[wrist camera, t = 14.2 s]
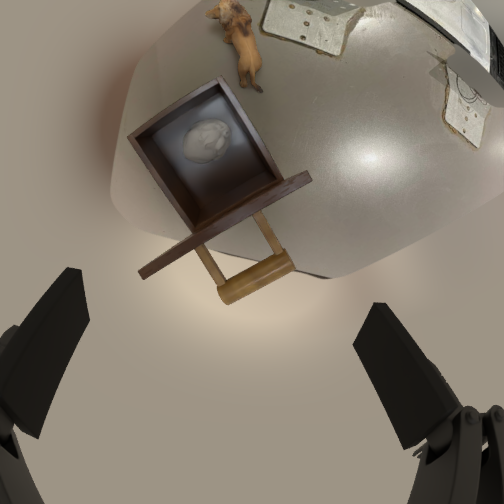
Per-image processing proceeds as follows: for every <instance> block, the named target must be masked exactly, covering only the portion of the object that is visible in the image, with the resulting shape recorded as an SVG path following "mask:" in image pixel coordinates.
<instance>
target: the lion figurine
mask: <svg viewBox="0 0 504 504" xmlns="http://www.w3.org/2000/svg"><path fill="white" fill-rule="evenodd" d="M205 15H206V16H207V17H208V18H210V19H219V22H220V24H222V27H223V28H224V30H225V31H226V33H225V35H226V37H225V38H224V40H223V41H224V42H226V43H232V42H233V45H234V47H235V48H236V50H237V52H238V54H239V55H240V60H239V62H238V73H239V76H240V78H241V81H240V86H241V87H243V88H244V87H247V86H248V84H247V80H246V74H247V73H248V72H249V73H250V80H251V84H252V85H253V86H254V87H255V88H256V89H257V91H259V92H260V93H262V92H263V90H262V89H261V87H260V86H258V85H257V84H256V83H255V71H258V70H259V68H261V66H262V59H261V57H260V54H259V52H258V50H257V47H256V41H255V36H254V34H253V31H252V30H251V22H252V19H251V17H250V15H249V14H248V13H247V11H246V10H245V8H244V7H243V6H242V5H240V4H239V2H237V1H236V0H220V2H219V4H218V5H216V6H215V7H214V9H212V10H209V11H207V12H206V13H205Z"/></svg>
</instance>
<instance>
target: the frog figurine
mask: <svg viewBox="0 0 504 504" xmlns="http://www.w3.org/2000/svg"><path fill="white" fill-rule="evenodd" d="M182 144H183V154H184V156H185V157H186V158H187V159H189V160H191V161H194V162H196V163H199V164H205V163H209V162H211V160H218V159H220V158H221V157H222V156H223V155H224V154H225V152H226V150H227V148H228V147H229V145H230V144H231V131H230V129H229V127H228V126H227V125H226V124H225V123H224V122H222V121H220V120H217V119H214V118H212V119H207V120H200V121H198V122H196V123H194V124H193V125H192V126H191V130H188V131H187V132H186V134H185V135H184V137H183V143H182Z"/></svg>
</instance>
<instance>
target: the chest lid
mask: <svg viewBox="0 0 504 504" xmlns="http://www.w3.org/2000/svg"><path fill="white" fill-rule="evenodd" d="M310 182H312V178H311V177H310V175H309V173H308V171H307V170H306V171H303V172H301V173H299V174H296V175H294V176H292V177H289V178H287V179H285V180H283V181H281V182H279V183H278V184H276V185H274V186H272V187H270V188H269V189H267V190H265V191H263V192H262V193H260V194H258V195H256V196H255V197H253V198H251V199H249V200H248V201H246V202H244V203H242V204H241V205H239V206H237V207H236V208H234V209H232V210H231V211H229V212H227V213H225V214H224V215H222V216H220V217H219V218H217V219H215V220H214V221H212V222H210V223H209V224H207V225H206V226H204V227H202V228H201V229H199V230H197V231H196V232H194V233H193V234H191V235H189V236H188V237H186V238H185V239H183V240H182V241H180V242H179V243H177V244H176V245H175V246H173V247H172V248H171V249H169V250H167V251H166V252H164V253H163V254H161V255H160V256H159V257H157V258H155V259H154V260H153V261H151V262H150V263H148V264H147V265H145V266H144V267H143V268H141V269H140V270H138V273H139V274H140V276H141V277H142V279H143V280H145V279H146V278H148V277H149V276H151V275H153V274H154V273H156V272H157V271H159V270H161V269H162V268H164V267H165V266H167V265H169V264H170V263H172V262H173V261H175V260H177V259H178V258H180V257H182V256H183V255H185V254H186V253H188V252H190V251H191V250H193V249H194V250H195V251H196V253H197V254H198V256H199V257H200V259H201V261H202V262H203V264H204V265H205V267H206V269H207V270H208V272H209V274H210V275H211V277H212V278H213V280H214V281H215V283H216V284H217V291H218V294H219V296H220V298H221V300H222V301H223V302H224V303H225V304H226V305H229V304H232V303H233V302H235V301H237V300H239V299H241V298H243V297H245V296H247V295H249V294H251V293H252V292H255V291H256V290H258V289H260V288H262V287H264V286H266V285H268V284H270V283H271V282H273V281H275V280H277V279H279V278H281V277H283V276H284V275H286V274H288V273H290V272H292V271H293V270H295V269H296V267H295V265H294V263H293V261H292V260H291V258H290V256H289V254H288V252H287V251H286V249H285V248H284V249H283V248H282V246H281V244H280V243H279V241H278V239H277V237H276V236H275V234H274V232H273V230H272V229H271V227H270V225H269V223H268V222H267V220H266V218H265V217H264V215H263V213H262V211H261V209H263V208H265V207H267V206H268V205H270V204H272V203H274V202H276V201H277V200H279V199H281V198H283V197H284V196H286V195H288V194H290V193H292V192H293V191H295V190H297V189H299V188H301V187H302V186H304V185H306V184H308V183H310ZM251 215H252V216H253V218H254V219H255V221H256V223H257V224H258V226H259V228H260V230H261V231H262V233H263V235H264V236H265V238H266V240H267V242H268V243H269V245H270V247H271V249H272V250H273V252H274V254H273V255H271V256H269V257H268V258H266V259H264V260H262V261H260V262H259V263H257V264H255V265H253V266H251V267H250V268H248V269H246V270H244V271H242V272H240V273H239V274H237V275H235V276H233V277H231V278H229V279H228V280H226V278H225V277H224V275H223V274H222V272H221V271H220V269H219V267H218V266H217V264H216V262H215V261H214V259H213V258H212V256H211V254H210V253H209V251H208V249H207V248H206V246H205V245H204V243H205V242H207V241H208V240H210V239H212V238H213V237H215V236H217V235H218V234H220V233H222V232H223V231H225V230H227V229H229V228H230V227H232V226H234V225H235V224H237V223H239V222H241V221H242V220H244V219H246V218H247V217H249V216H251Z"/></svg>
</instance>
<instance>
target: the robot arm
mask: <svg viewBox="0 0 504 504" xmlns="http://www.w3.org/2000/svg"><path fill="white" fill-rule="evenodd" d="M89 321H90V318H89V313H88V308H87V303H86V297H85V291H84V285H83V278H82V270H80V269H75V268H69V267H67V268H66V269H65V270H64V271H63V272H62V273H61V275H60V276H59V277H58V278H57V279H56V281H54V283H53V284H52V285H51V286H50V288H49V289H48V290H47V291H46V292H45V294H44V295H43V296H42V297H41V299H40V300H39V301H38V302H37V303H36V305H35V306H34V307H33V309H32V310H31V311H30V313H29V314H28V316H27V317H26V318H25V319H24V321H23V322H22V323H21V325H20V326H16V325H13V326H12V327H10V328H9V329H8V330H7V331H5V332H4V333H3V335H2V336H1V338H0V504H44V502H43V500H42V498H41V496H40V494H39V492H38V490H37V488H36V486H35V484H34V481H33V480H32V477H31V475H30V473H29V470H28V468H27V465H26V463H25V460H24V457H23V455H22V452H21V450H20V446H19V444H18V440H17V438H16V434H15V432H14V430H13V426H14V423H15V424H16V426H17V427H19V429H20V430H21V431H22V432H24V433H26V434H28V435H30V436H32V437H34V438H36V439H39V436H40V433H41V430H42V427H43V424H44V421H45V418H46V415H47V413H48V410H49V408H50V405H51V403H52V400H53V398H54V395H55V392H56V390H57V388H58V385H59V383H60V381H61V378H62V376H63V374H64V372H65V370H66V367H67V365H68V363H69V361H70V358H71V357H72V355H73V353H74V350H75V348H76V346H77V344H78V342H79V340H80V338H81V336H82V335H83V333H84V331H85V329H86V327H87V325H88V323H89ZM353 347H354V349H355V350H356V352H357V354H358V356H359V358H360V360H361V362H362V364H363V366H364V368H365V370H366V372H367V374H368V376H369V378H370V380H371V382H372V384H373V385H374V388H375V390H376V392H377V394H378V396H379V398H380V400H381V402H382V404H383V406H384V408H385V410H386V412H387V415H388V417H389V419H390V421H391V423H392V425H393V427H394V430H395V432H396V434H397V436H398V438H399V441H400V443H401V445H402V447H403V449H404V450H405V449H408V448H411V447H413V446H416V445H417V444H419V443H420V442H421V441H422V440H423V439H425V438H426V439H427V442H426V443H425V444H424V445H423V446H421V447H420V448H419V449H418V450H416V451H415V452H414V453H413V455H412V456H416V455H417V454H418V453H419V452H421V451H422V453H421V454H420V455H418V457H417V458H420V462H419V467H418V471H417V474H416V478H415V481H414V485H413V488H412V491H411V494H410V497H409V500H408V503H407V504H504V410H503V409H502V408H501V407H500V406H498V405H493V406H492V407H491V409H489V410H488V411H487V412H486V413H479V412H478V411H477V410H476V409H475V408H473V407H472V406H465V407H463V406H462V405H461V403H460V402H459V400H458V398H457V397H456V395H455V394H454V392H453V391H452V389H451V388H450V386H449V384H448V383H446V380H445V379H444V377H443V376H441V373H440V371H439V370H438V368H437V367H436V366H435V365H434V364H433V363H432V362H431V361H430V360H429V359H427V358H426V356H425V355H424V353H423V352H422V351H421V349H420V348H419V346H418V345H417V344H416V342H415V341H414V340H413V338H412V337H411V335H410V334H409V333H408V332H407V330H406V329H405V327H404V326H403V325H402V323H401V322H400V321H399V319H398V318H397V317H396V316H395V314H394V313H393V312H392V310H391V309H390V308H389V307H388V305H387V304H386V303H375V302H374V303H373V306H372V307H371V309H370V311H369V314H368V316H367V318H366V320H365V322H364V324H363V326H362V328H361V329H360V331H359V333H358V335H357V337H356V339H355V341H354V343H353ZM487 441H488V447H487V448H486V449H485V450H483V451H482V445H484V444H485V443H486V442H487Z"/></svg>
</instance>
